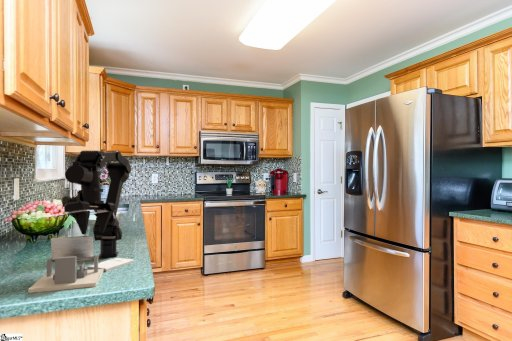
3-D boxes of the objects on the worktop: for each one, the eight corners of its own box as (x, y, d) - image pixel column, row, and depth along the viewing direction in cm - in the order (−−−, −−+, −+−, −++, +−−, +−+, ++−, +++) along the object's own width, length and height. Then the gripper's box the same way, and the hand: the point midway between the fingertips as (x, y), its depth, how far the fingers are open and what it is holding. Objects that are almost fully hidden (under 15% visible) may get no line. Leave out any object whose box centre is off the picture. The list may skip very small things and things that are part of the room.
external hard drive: (87, 271, 104) (116, 261, 115) (106, 273, 101) (133, 263, 112) (87, 266, 104) (116, 257, 115) (106, 268, 101) (133, 259, 112)
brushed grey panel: (53, 261, 95) (51, 237, 93) (93, 258, 98) (92, 235, 97) (52, 263, 94) (50, 239, 92) (93, 260, 97) (92, 236, 96)
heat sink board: (46, 276, 96) (46, 250, 96) (103, 271, 101) (103, 246, 101) (28, 293, 83) (28, 262, 83) (95, 286, 88) (95, 257, 88)
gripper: (87, 192, 116) (89, 234, 114) (47, 188, 98) (49, 238, 96) (115, 187, 115) (117, 230, 113) (80, 182, 97) (82, 233, 94)
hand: (93, 233), depth 104 cm, fingers open, 9 cm apart
